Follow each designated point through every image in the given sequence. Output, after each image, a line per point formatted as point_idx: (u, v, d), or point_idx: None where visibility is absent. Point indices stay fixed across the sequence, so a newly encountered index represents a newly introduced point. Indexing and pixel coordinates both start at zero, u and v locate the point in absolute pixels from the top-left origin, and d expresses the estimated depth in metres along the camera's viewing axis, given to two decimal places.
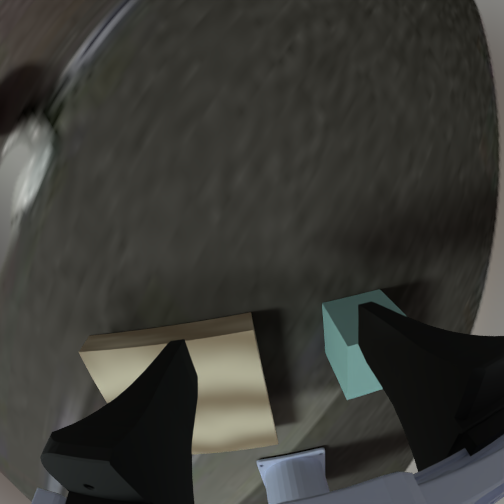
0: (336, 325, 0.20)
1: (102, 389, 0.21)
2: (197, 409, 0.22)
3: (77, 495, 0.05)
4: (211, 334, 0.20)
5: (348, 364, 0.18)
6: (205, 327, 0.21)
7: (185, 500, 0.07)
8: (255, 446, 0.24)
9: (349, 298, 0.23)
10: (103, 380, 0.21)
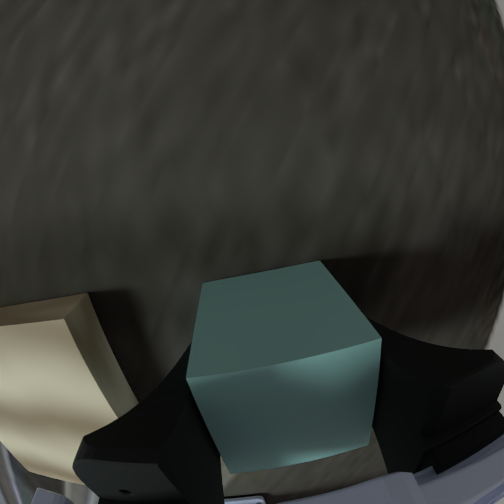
0: (197, 325, 0.09)
1: None
2: (47, 429, 0.12)
3: (109, 501, 0.05)
4: (21, 321, 0.10)
5: (204, 417, 0.07)
6: (26, 310, 0.11)
7: (218, 499, 0.07)
8: None
9: (254, 276, 0.12)
10: None
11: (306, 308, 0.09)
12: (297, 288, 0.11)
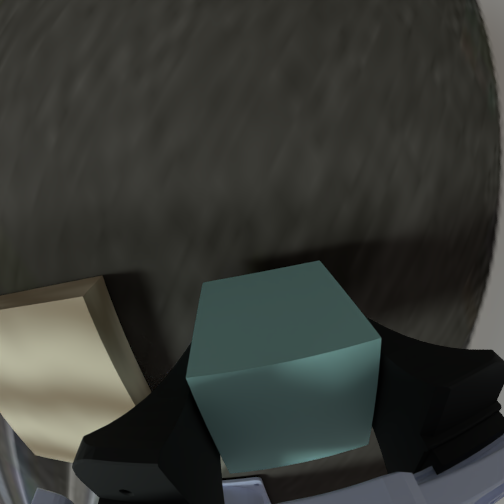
0: (196, 325, 0.09)
1: None
2: (58, 407, 0.14)
3: (109, 501, 0.05)
4: (40, 301, 0.12)
5: (204, 416, 0.07)
6: (44, 292, 0.13)
7: (218, 499, 0.07)
8: None
9: (254, 276, 0.12)
10: None
11: (305, 308, 0.09)
12: (297, 288, 0.11)
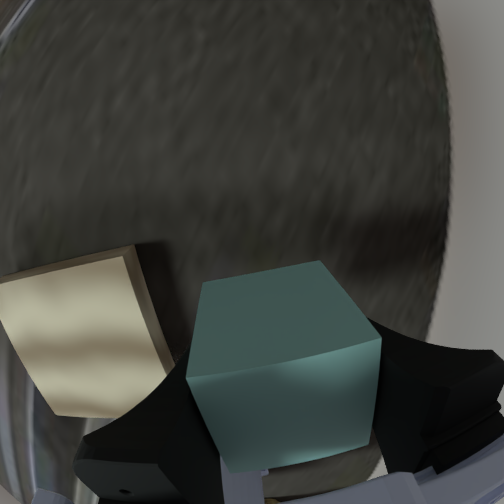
0: (197, 325, 0.09)
1: (7, 329, 0.18)
2: (87, 357, 0.19)
3: (109, 501, 0.05)
4: (85, 262, 0.17)
5: (204, 416, 0.07)
6: (86, 258, 0.19)
7: (217, 499, 0.07)
8: None
9: (254, 276, 0.12)
10: (6, 319, 0.18)
11: (306, 308, 0.09)
12: (297, 288, 0.11)
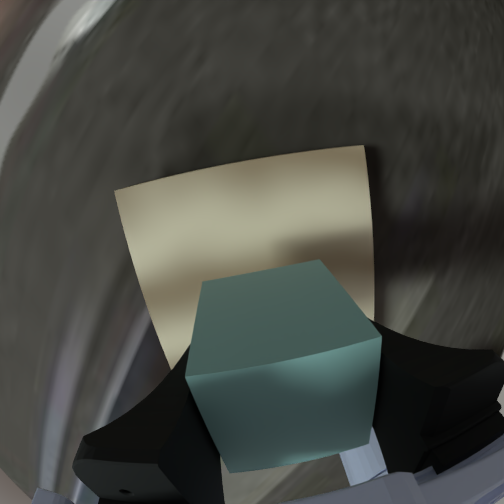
0: (196, 324, 0.09)
1: (137, 257, 0.16)
2: None
3: (109, 501, 0.05)
4: (313, 150, 0.16)
5: (203, 416, 0.07)
6: None
7: (217, 499, 0.07)
8: None
9: (253, 275, 0.12)
10: (143, 239, 0.16)
11: (306, 306, 0.09)
12: (297, 287, 0.10)
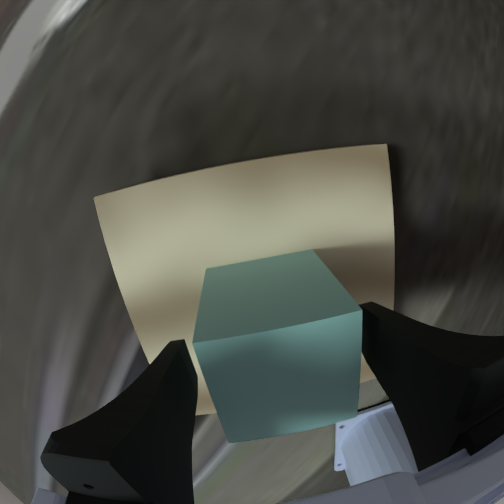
0: (201, 302, 0.11)
1: (121, 275, 0.14)
2: None
3: (77, 495, 0.05)
4: (328, 149, 0.13)
5: (207, 381, 0.09)
6: (312, 150, 0.14)
7: (185, 500, 0.07)
8: None
9: (252, 262, 0.14)
10: (127, 254, 0.13)
11: (297, 287, 0.11)
12: (290, 272, 0.12)
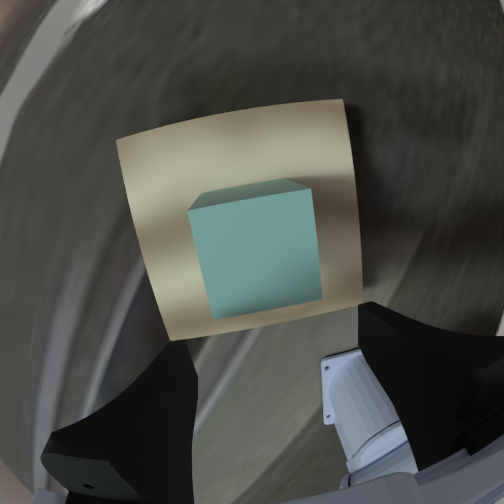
0: (196, 201, 0.14)
1: (133, 201, 0.17)
2: None
3: (77, 495, 0.05)
4: (296, 103, 0.16)
5: (196, 246, 0.12)
6: None
7: (185, 500, 0.07)
8: (334, 307, 0.20)
9: (237, 186, 0.17)
10: (139, 183, 0.17)
11: (268, 188, 0.14)
12: (264, 185, 0.15)
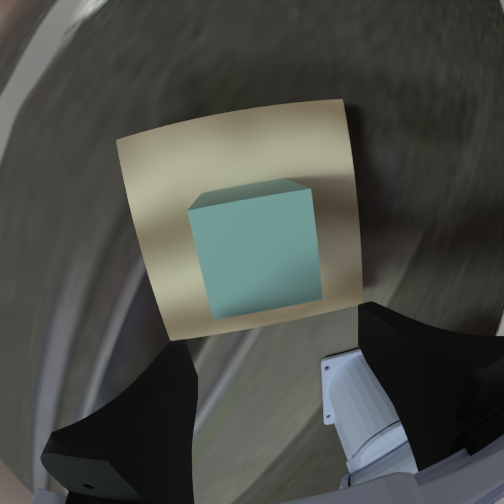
0: (196, 201, 0.14)
1: (133, 201, 0.17)
2: None
3: (77, 495, 0.05)
4: (296, 103, 0.16)
5: (196, 246, 0.12)
6: None
7: (185, 500, 0.07)
8: (334, 307, 0.20)
9: (237, 186, 0.17)
10: (139, 183, 0.17)
11: (268, 188, 0.14)
12: (264, 185, 0.15)
